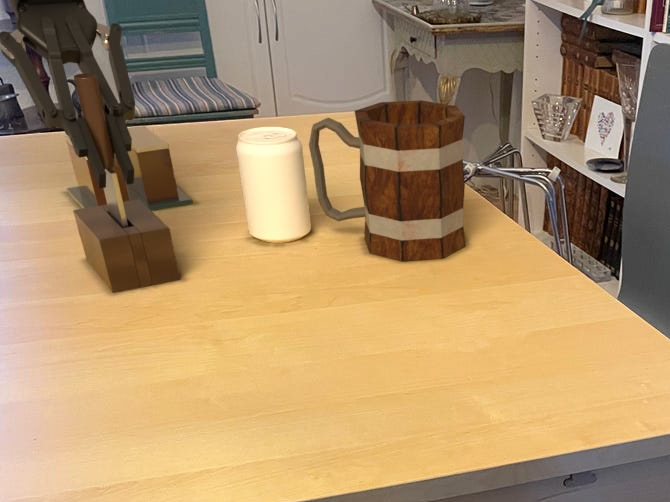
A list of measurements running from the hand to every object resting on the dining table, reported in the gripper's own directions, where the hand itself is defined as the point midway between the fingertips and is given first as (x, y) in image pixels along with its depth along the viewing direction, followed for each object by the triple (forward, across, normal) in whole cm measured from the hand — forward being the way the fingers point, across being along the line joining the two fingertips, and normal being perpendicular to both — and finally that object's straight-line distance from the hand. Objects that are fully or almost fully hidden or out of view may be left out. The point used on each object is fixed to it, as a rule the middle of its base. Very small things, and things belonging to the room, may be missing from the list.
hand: (116, 178), depth 104 cm
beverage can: (+4, -21, -12) cm, 24 cm away
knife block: (+5, 0, -11) cm, 12 cm away
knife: (+4, 0, -10) cm, 10 cm away
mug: (+10, -32, -6) cm, 34 cm away
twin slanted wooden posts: (-14, -8, -30) cm, 34 cm away
